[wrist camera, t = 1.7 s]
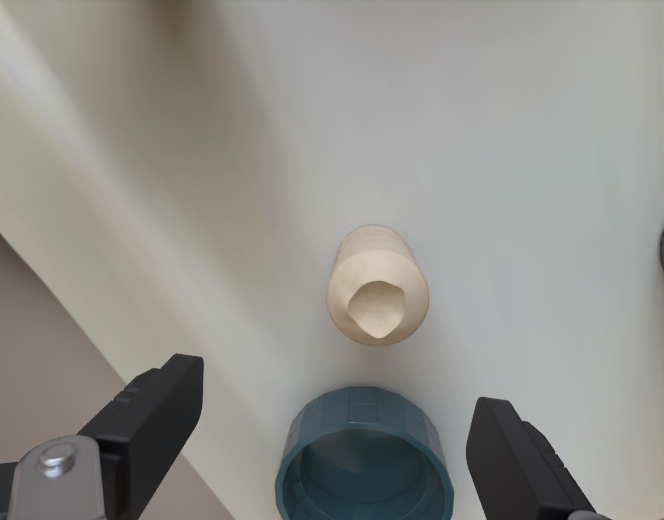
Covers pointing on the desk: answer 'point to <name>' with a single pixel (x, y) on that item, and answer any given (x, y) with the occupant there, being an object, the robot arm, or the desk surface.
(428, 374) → the desk surface
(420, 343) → the desk surface
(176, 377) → the robot arm
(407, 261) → the candle
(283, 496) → the bowl
